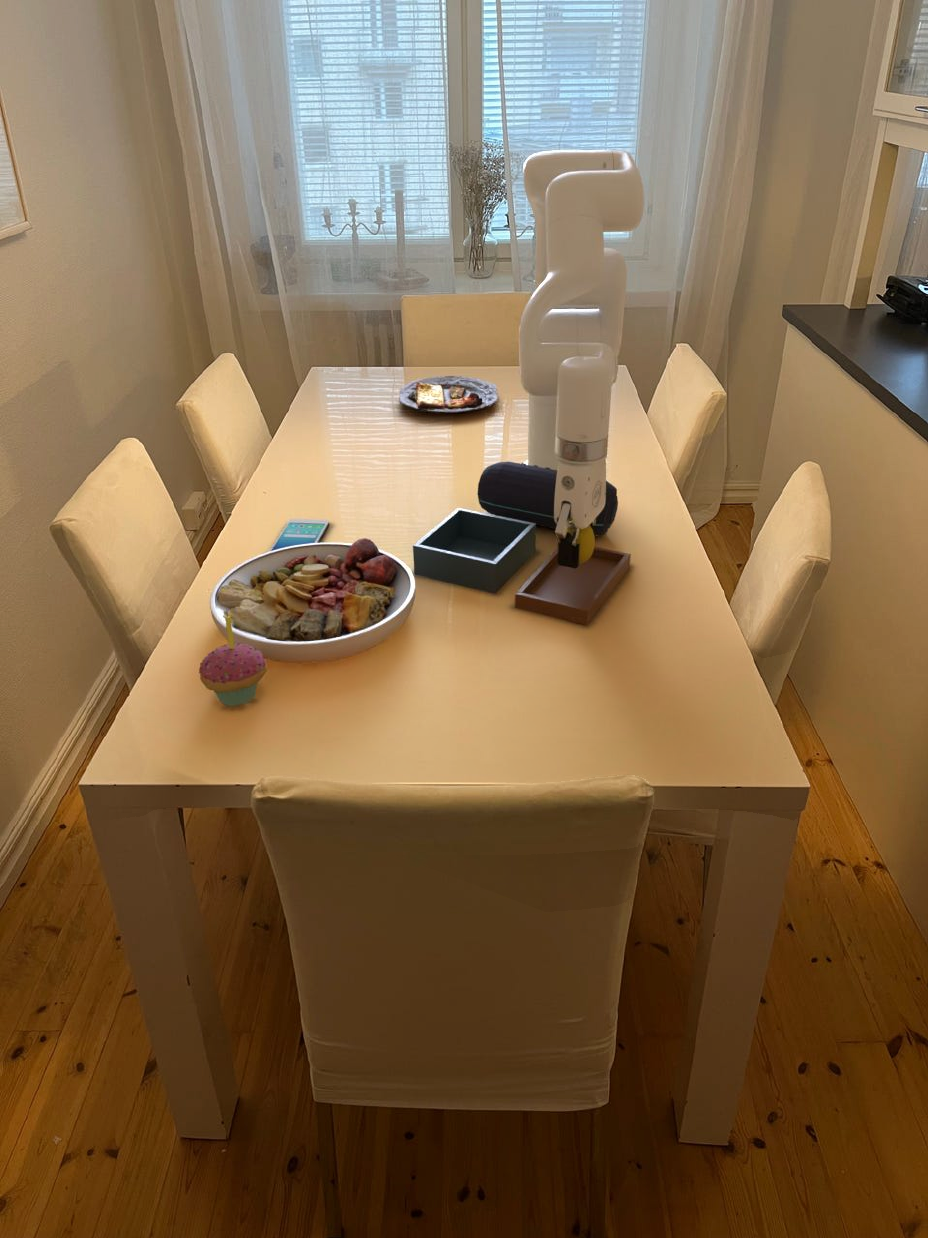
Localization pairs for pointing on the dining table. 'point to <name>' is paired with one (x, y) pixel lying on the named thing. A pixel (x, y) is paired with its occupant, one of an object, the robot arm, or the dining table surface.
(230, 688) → the cupcake
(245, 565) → the bowl
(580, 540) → the lemon
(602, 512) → the portable speaker
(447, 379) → the food plate
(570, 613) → the tray
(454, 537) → the blue open storage box
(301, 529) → the smartphone
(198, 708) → the dining table surface
